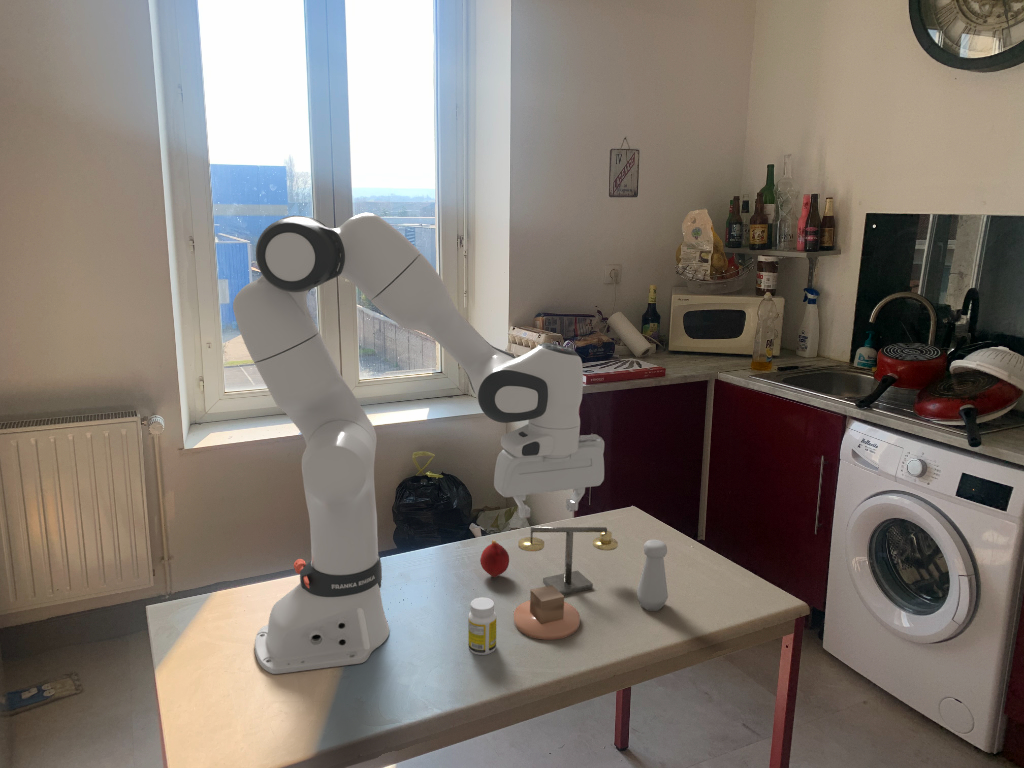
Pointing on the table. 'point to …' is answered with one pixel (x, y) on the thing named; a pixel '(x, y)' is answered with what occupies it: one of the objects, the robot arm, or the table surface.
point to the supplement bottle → (482, 626)
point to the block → (546, 604)
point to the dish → (548, 630)
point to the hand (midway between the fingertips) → (548, 513)
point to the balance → (569, 556)
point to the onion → (494, 559)
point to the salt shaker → (653, 577)
